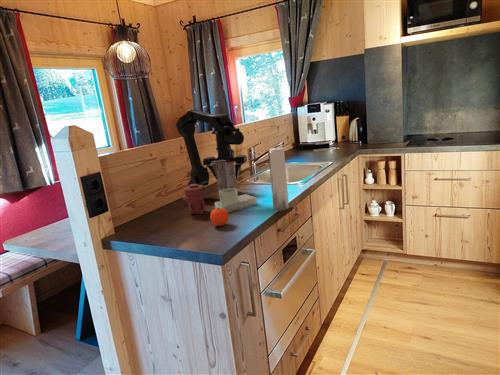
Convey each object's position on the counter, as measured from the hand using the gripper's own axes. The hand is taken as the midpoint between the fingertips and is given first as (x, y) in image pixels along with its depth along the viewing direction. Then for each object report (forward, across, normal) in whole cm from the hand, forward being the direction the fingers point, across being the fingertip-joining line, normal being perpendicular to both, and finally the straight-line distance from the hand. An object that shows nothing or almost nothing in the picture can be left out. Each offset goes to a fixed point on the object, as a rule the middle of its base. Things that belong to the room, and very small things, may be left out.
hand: (226, 179), depth 160 cm
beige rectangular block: (+12, -4, +4) cm, 13 cm away
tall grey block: (+11, -25, +8) cm, 28 cm away
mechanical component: (+12, +11, +11) cm, 20 cm away
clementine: (+12, -5, +26) cm, 29 cm away
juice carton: (+12, +7, -21) cm, 25 cm away
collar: (+9, -2, +6) cm, 11 cm away
